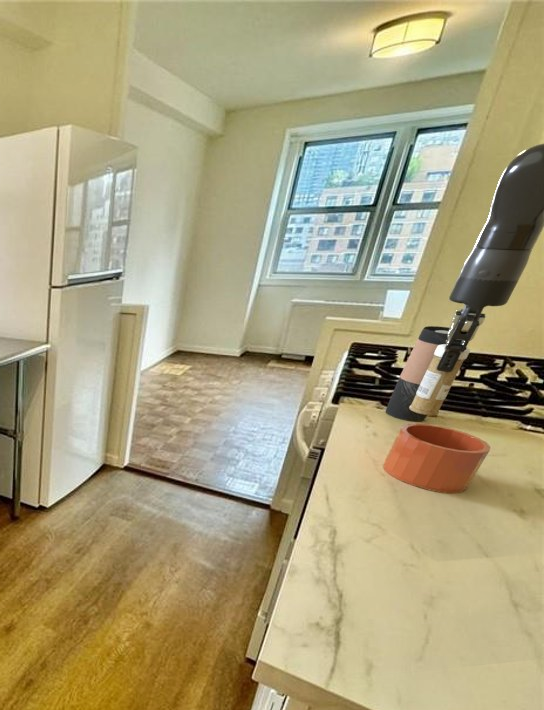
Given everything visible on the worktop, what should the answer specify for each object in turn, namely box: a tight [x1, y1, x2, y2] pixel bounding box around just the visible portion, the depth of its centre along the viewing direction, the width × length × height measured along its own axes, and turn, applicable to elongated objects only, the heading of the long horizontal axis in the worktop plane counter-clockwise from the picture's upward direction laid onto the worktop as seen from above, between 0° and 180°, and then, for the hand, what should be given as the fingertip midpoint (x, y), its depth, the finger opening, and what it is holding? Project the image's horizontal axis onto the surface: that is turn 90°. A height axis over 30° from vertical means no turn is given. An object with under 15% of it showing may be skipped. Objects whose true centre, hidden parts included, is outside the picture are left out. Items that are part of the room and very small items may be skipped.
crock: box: [382, 423, 491, 494], centre depth 87 cm, size 12×12×8 cm
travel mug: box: [385, 325, 450, 422], centre depth 108 cm, size 8×8×20 cm
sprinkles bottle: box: [409, 344, 471, 416], centre depth 95 cm, size 5×5×13 cm
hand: (444, 367), depth 94 cm, fingers closed on sprinkles bottle, 4 cm apart
